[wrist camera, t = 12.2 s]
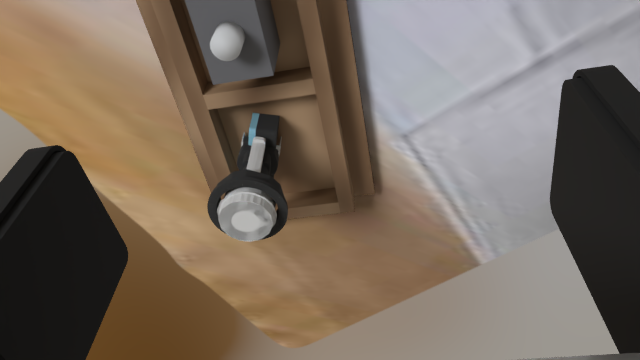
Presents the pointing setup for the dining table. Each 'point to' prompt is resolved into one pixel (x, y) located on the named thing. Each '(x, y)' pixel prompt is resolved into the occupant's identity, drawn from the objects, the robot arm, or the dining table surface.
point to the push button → (252, 186)
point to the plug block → (236, 38)
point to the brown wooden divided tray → (276, 103)
